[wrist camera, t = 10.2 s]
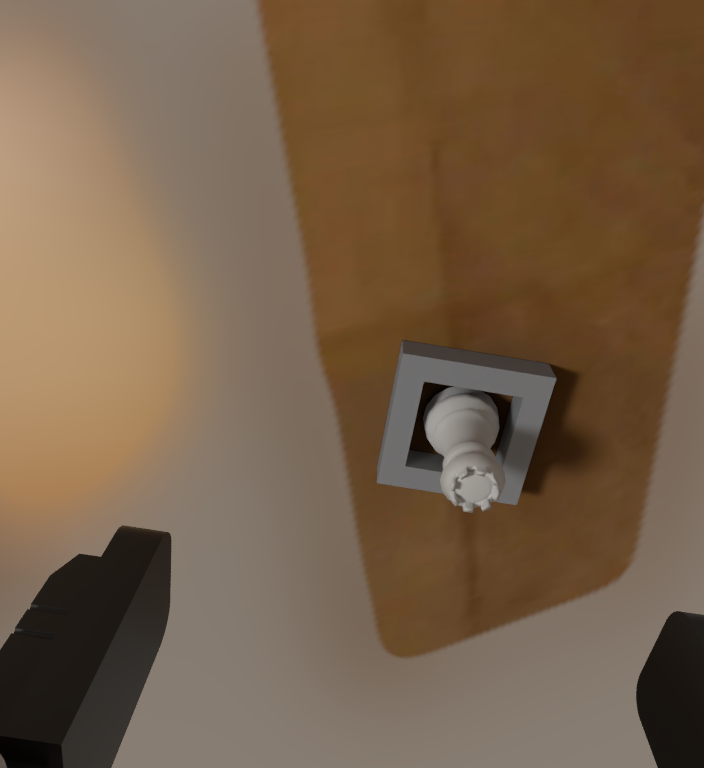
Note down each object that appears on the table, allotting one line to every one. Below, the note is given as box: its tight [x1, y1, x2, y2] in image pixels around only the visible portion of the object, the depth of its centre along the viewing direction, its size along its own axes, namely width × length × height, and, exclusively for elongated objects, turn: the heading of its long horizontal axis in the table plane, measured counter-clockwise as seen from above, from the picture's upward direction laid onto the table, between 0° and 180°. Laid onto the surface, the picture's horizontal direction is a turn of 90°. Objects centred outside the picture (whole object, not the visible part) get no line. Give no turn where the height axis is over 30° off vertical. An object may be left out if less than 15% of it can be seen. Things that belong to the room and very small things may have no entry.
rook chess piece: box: [423, 387, 506, 513], centre depth 36 cm, size 4×4×8 cm
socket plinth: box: [377, 340, 557, 505], centre depth 38 cm, size 8×8×2 cm
